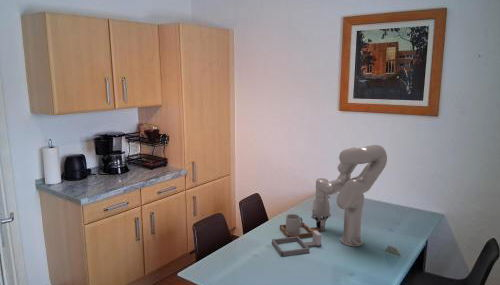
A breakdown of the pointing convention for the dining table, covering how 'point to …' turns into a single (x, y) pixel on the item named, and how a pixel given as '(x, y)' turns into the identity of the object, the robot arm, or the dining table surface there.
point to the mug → (293, 224)
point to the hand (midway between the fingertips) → (320, 226)
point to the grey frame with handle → (315, 242)
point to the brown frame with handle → (309, 230)
